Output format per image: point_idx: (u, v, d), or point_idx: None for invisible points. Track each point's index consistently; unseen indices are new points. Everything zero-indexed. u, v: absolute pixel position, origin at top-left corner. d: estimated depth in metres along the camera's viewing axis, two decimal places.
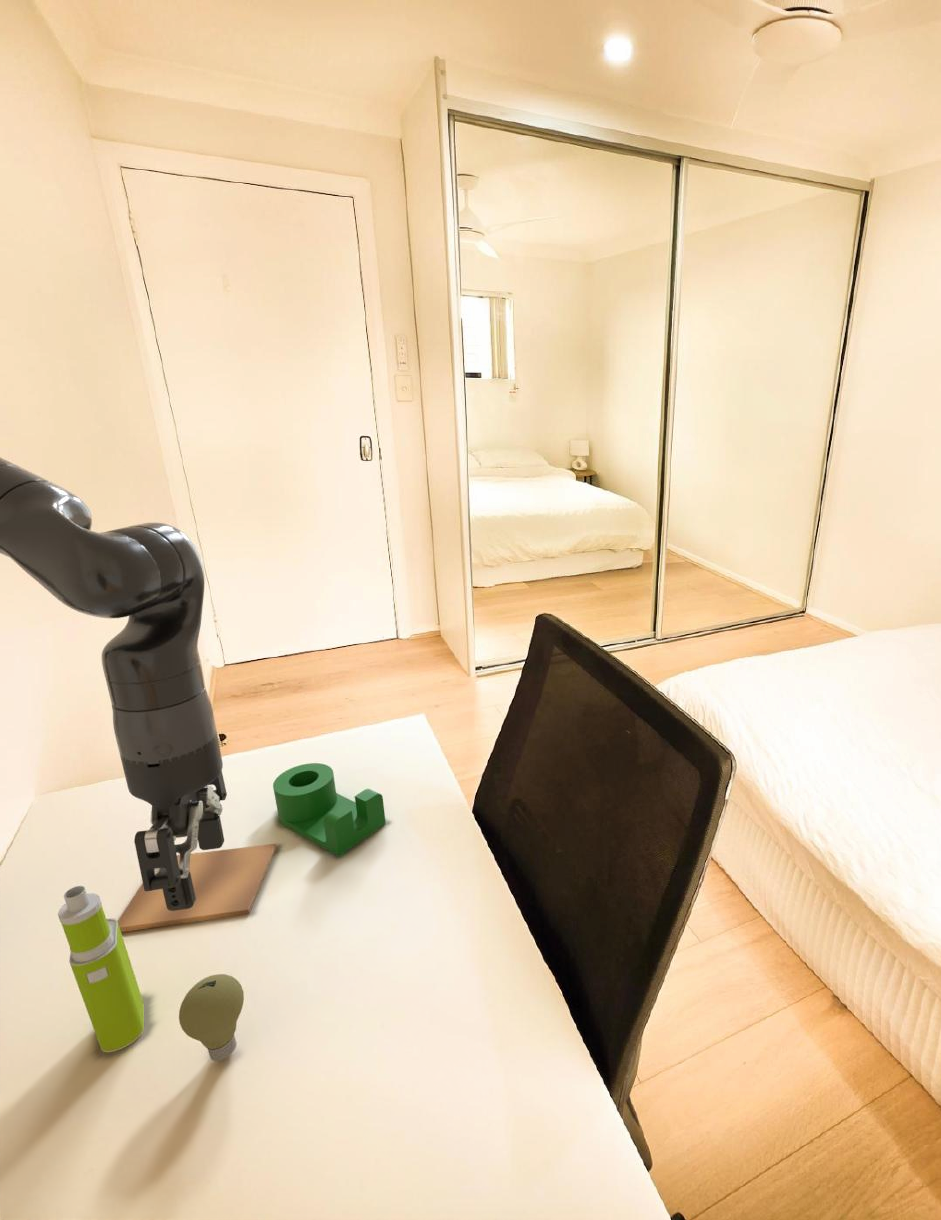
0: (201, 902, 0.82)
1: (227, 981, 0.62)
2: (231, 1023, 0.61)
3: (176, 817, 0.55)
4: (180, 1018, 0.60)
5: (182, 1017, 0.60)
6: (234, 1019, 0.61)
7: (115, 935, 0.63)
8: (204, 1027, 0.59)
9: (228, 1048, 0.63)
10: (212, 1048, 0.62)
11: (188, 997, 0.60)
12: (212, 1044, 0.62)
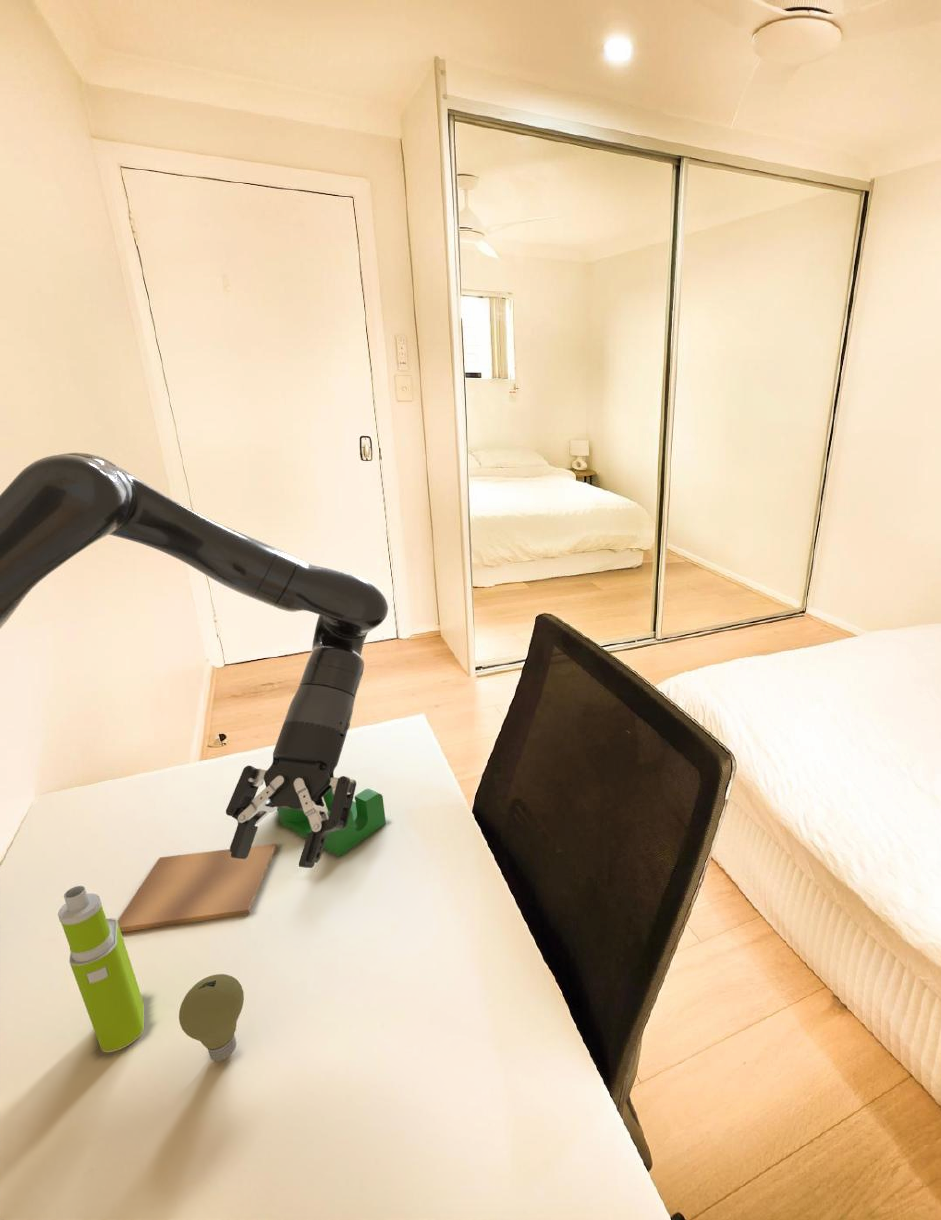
0: (201, 902, 0.82)
1: (227, 981, 0.62)
2: (231, 1023, 0.61)
3: None
4: (180, 1018, 0.60)
5: (182, 1017, 0.60)
6: (234, 1019, 0.61)
7: (115, 935, 0.63)
8: (204, 1027, 0.59)
9: (228, 1048, 0.63)
10: (212, 1048, 0.62)
11: (188, 997, 0.60)
12: (212, 1044, 0.62)
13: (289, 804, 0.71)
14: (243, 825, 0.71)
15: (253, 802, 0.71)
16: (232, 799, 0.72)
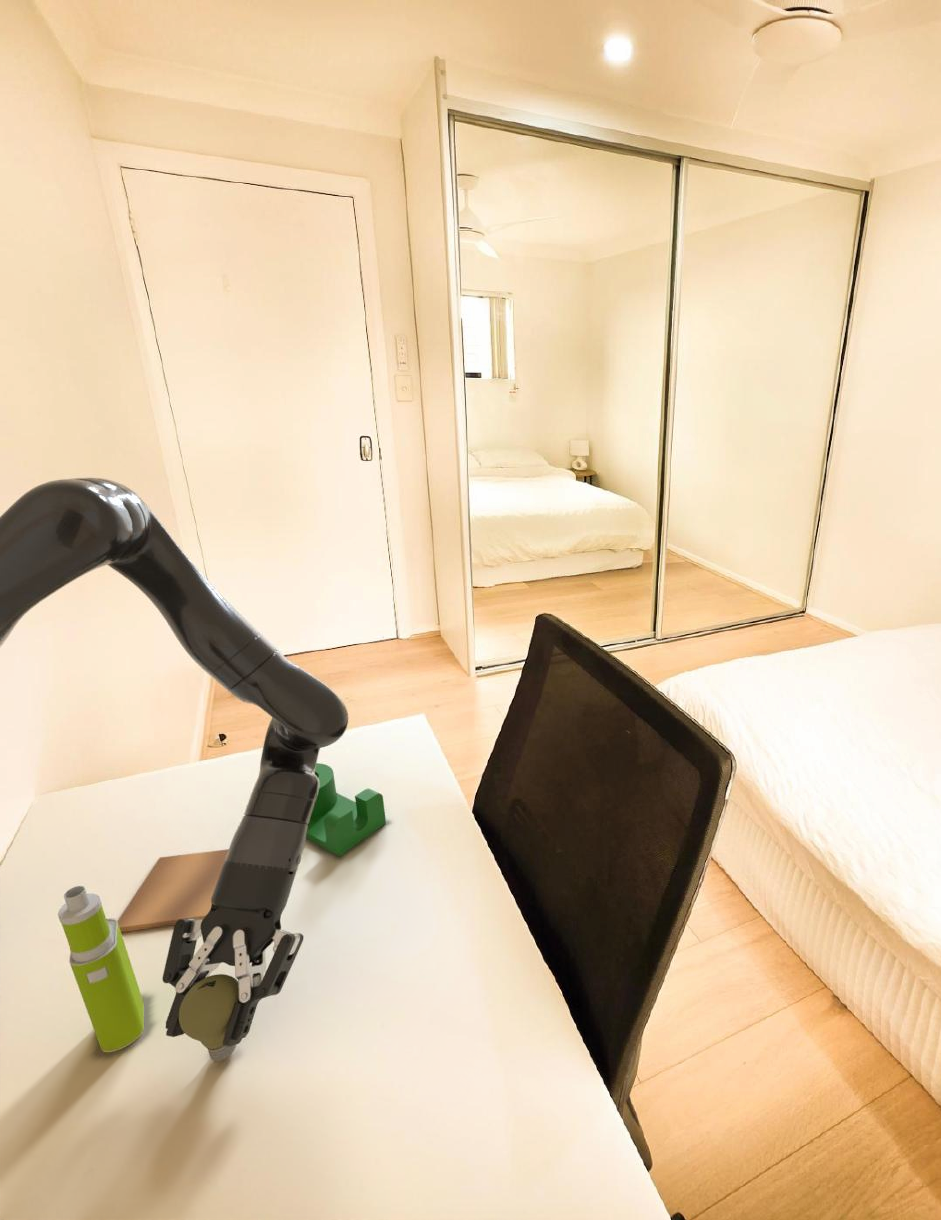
0: (201, 902, 0.82)
1: (227, 981, 0.62)
2: None
3: None
4: (180, 1018, 0.60)
5: (181, 1017, 0.60)
6: None
7: (115, 935, 0.63)
8: (204, 1027, 0.59)
9: (228, 1048, 0.63)
10: (212, 1048, 0.62)
11: (188, 997, 0.60)
12: (212, 1045, 0.62)
13: (228, 960, 0.63)
14: (182, 996, 0.62)
15: (190, 965, 0.63)
16: (167, 963, 0.63)
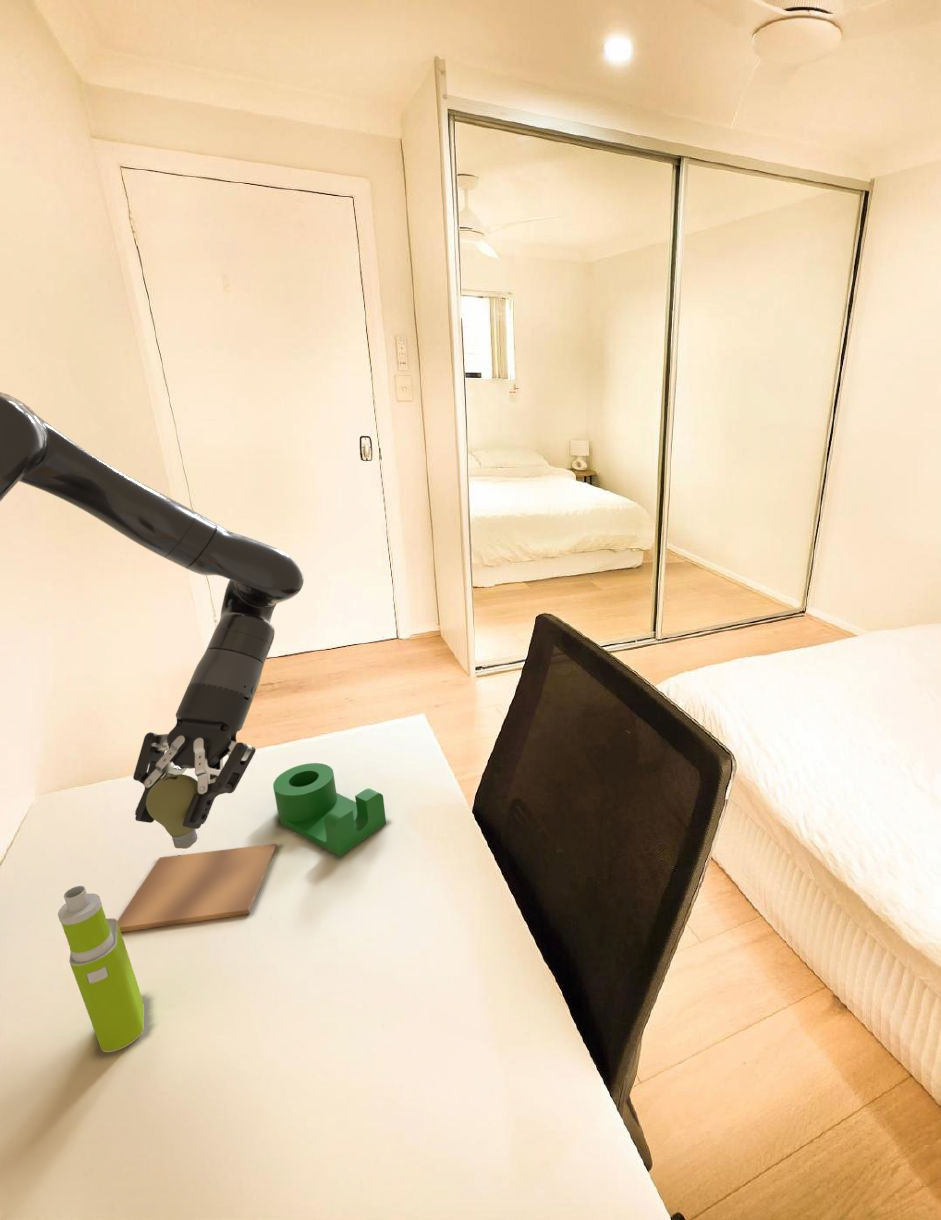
0: (201, 902, 0.82)
1: (188, 778, 0.73)
2: None
3: None
4: (146, 803, 0.70)
5: (148, 801, 0.70)
6: None
7: (115, 935, 0.63)
8: (167, 809, 0.70)
9: (189, 838, 0.74)
10: (175, 834, 0.72)
11: (153, 786, 0.71)
12: (175, 830, 0.72)
13: (189, 763, 0.74)
14: (149, 789, 0.72)
15: (157, 765, 0.73)
16: (138, 765, 0.74)
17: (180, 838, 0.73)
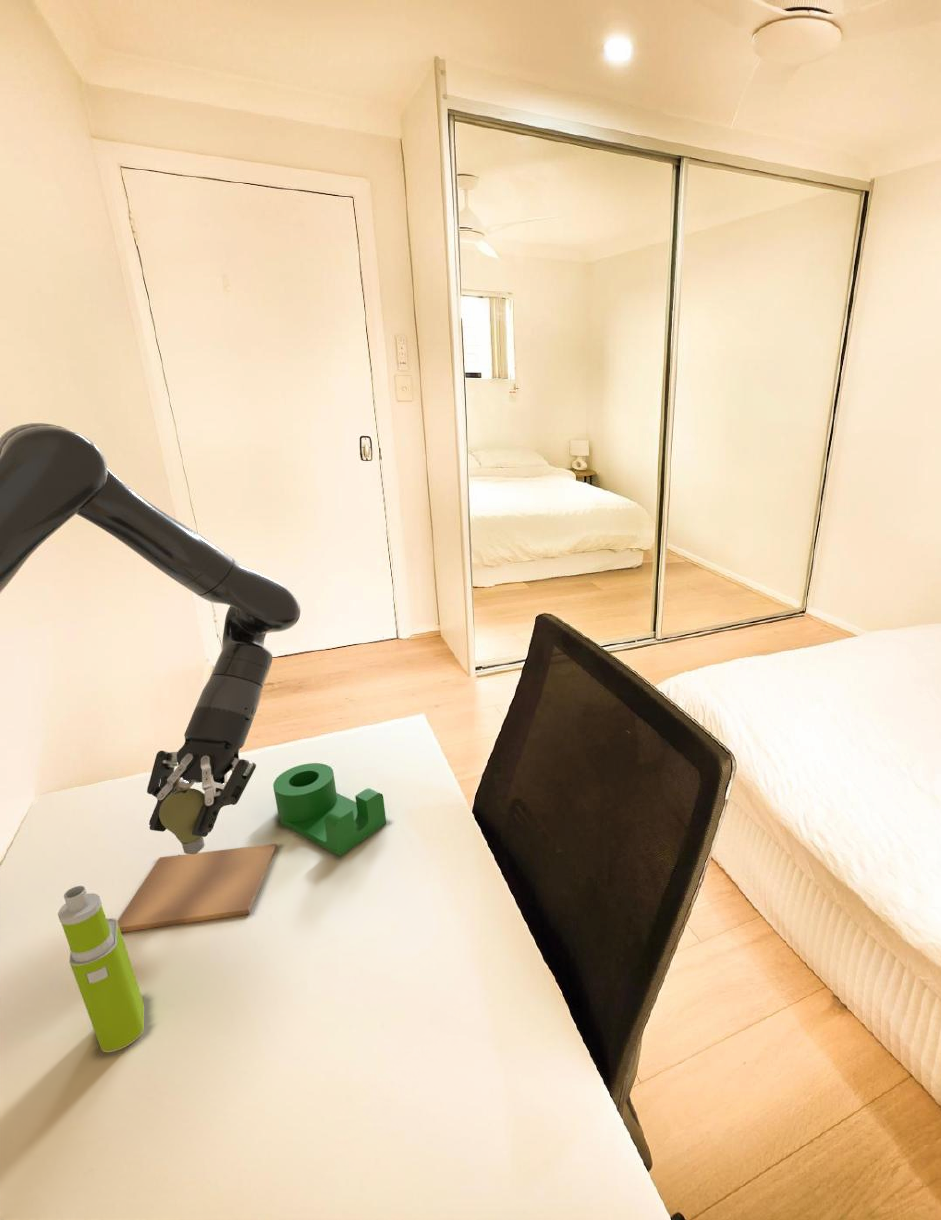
0: (201, 902, 0.82)
1: (196, 791, 0.82)
2: None
3: None
4: (159, 814, 0.79)
5: (161, 812, 0.79)
6: None
7: (115, 935, 0.63)
8: (178, 819, 0.79)
9: (197, 845, 0.83)
10: (185, 842, 0.81)
11: (166, 799, 0.80)
12: (184, 838, 0.81)
13: (197, 778, 0.83)
14: (161, 802, 0.81)
15: (168, 780, 0.82)
16: (151, 780, 0.83)
17: (189, 845, 0.82)
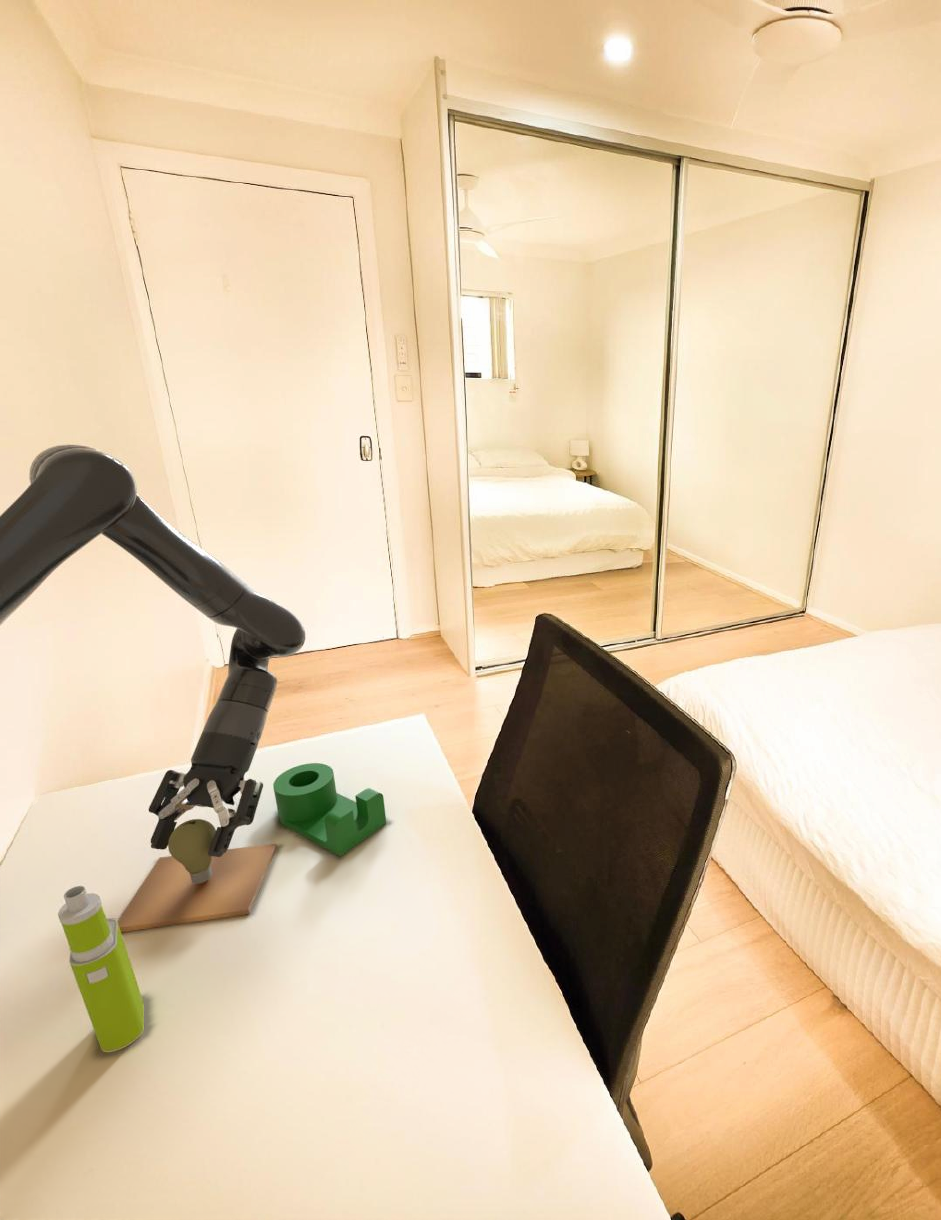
0: (201, 902, 0.82)
1: (204, 822, 0.83)
2: (207, 852, 0.83)
3: None
4: (169, 845, 0.81)
5: (170, 844, 0.81)
6: None
7: (115, 935, 0.63)
8: (187, 850, 0.81)
9: (205, 874, 0.84)
10: (193, 872, 0.83)
11: (175, 831, 0.82)
12: (193, 868, 0.83)
13: (203, 803, 0.84)
14: (162, 821, 0.83)
15: (172, 801, 0.84)
16: (154, 798, 0.85)
17: (197, 875, 0.84)
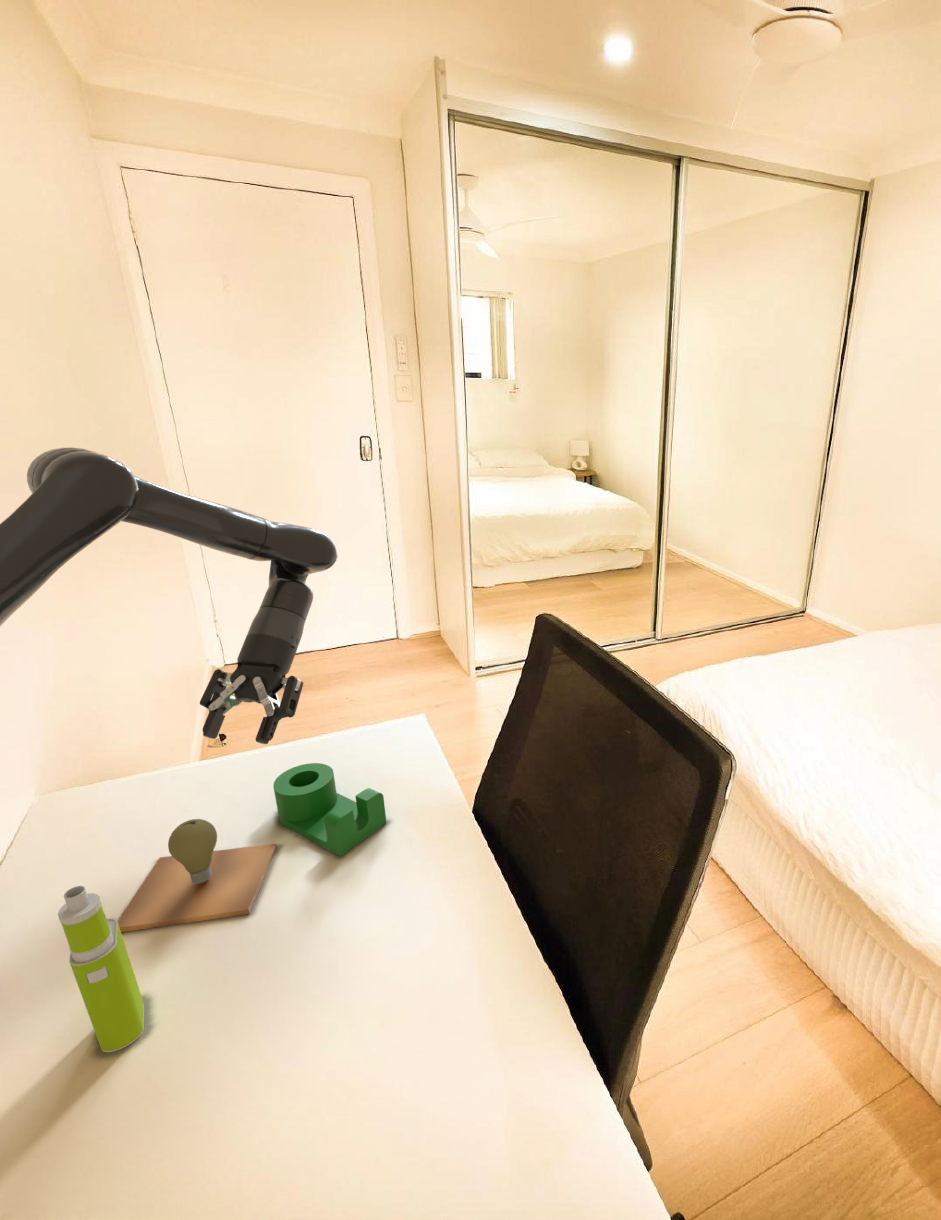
0: (201, 902, 0.82)
1: (204, 822, 0.83)
2: (207, 852, 0.83)
3: None
4: (169, 845, 0.81)
5: (170, 844, 0.81)
6: (209, 849, 0.83)
7: (115, 935, 0.63)
8: (187, 850, 0.81)
9: (205, 874, 0.84)
10: (193, 872, 0.83)
11: (175, 831, 0.82)
12: (193, 868, 0.83)
13: (249, 697, 0.92)
14: (213, 712, 0.91)
15: (221, 695, 0.91)
16: (205, 693, 0.92)
17: (197, 875, 0.84)
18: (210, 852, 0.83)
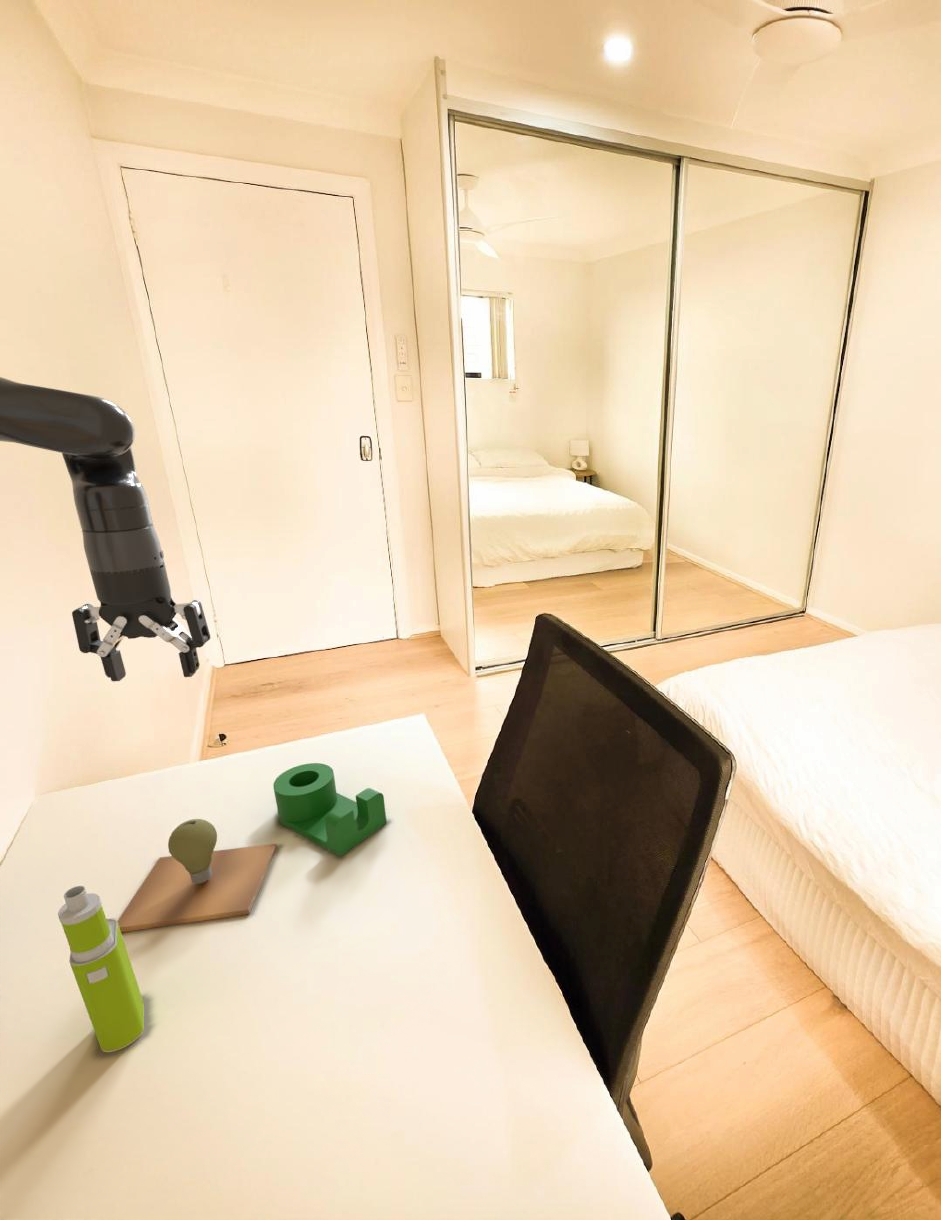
0: (201, 902, 0.82)
1: (204, 822, 0.83)
2: (207, 852, 0.83)
3: None
4: (169, 845, 0.81)
5: (170, 844, 0.81)
6: (209, 849, 0.83)
7: (115, 935, 0.63)
8: (187, 850, 0.81)
9: (205, 874, 0.84)
10: (193, 872, 0.83)
11: (175, 831, 0.82)
12: (193, 868, 0.83)
13: (144, 635, 0.78)
14: (107, 658, 0.78)
15: (105, 640, 0.77)
16: (79, 640, 0.77)
17: (197, 875, 0.84)
18: (210, 852, 0.83)
